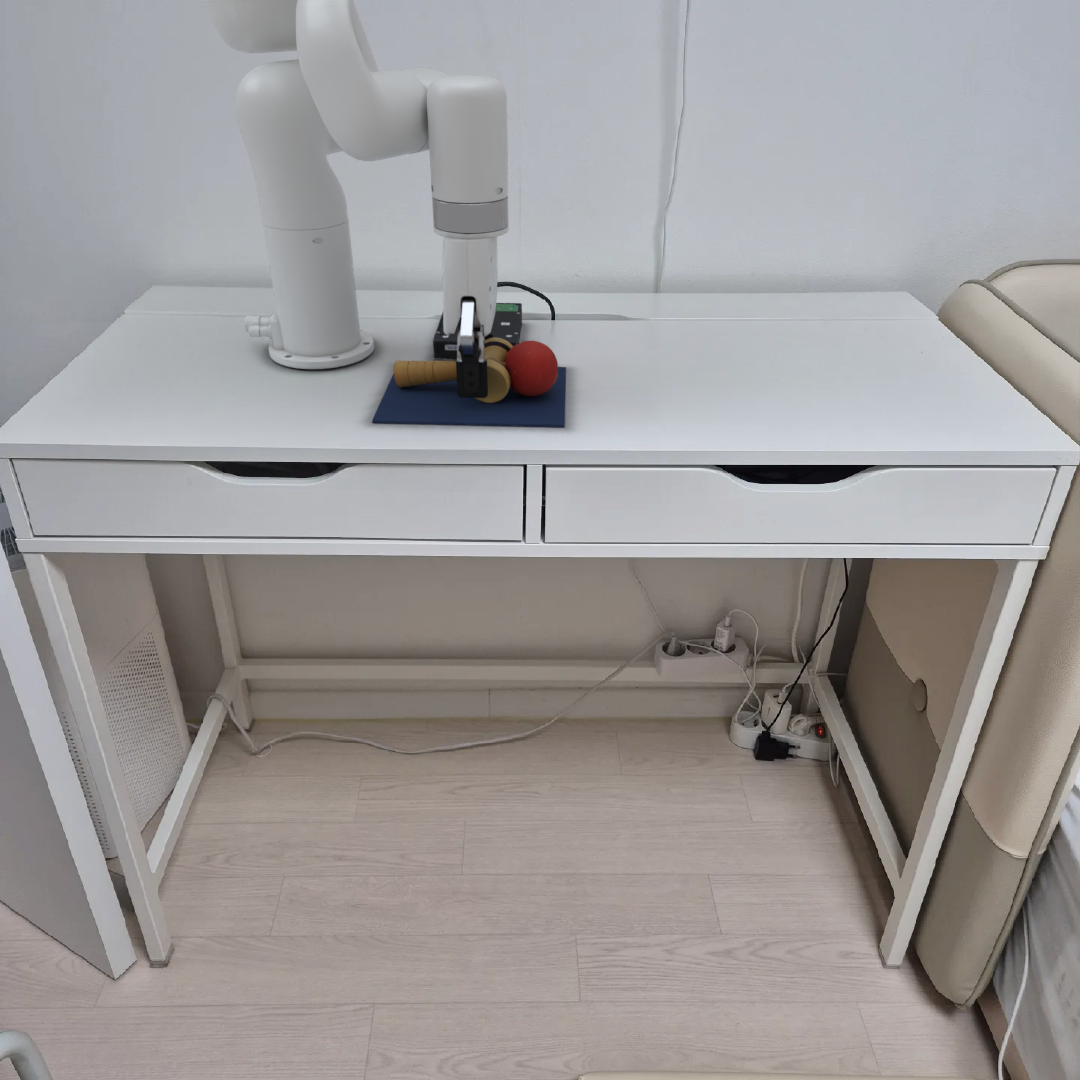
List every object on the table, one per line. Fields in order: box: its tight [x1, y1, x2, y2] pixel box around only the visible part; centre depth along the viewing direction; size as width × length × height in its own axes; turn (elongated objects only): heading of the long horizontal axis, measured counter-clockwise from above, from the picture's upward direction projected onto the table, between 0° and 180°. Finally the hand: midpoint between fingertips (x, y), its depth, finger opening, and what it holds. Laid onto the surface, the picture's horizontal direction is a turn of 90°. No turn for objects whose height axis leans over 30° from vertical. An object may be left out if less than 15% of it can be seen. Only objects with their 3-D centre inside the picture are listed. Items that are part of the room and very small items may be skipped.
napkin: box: [371, 366, 567, 428], centre depth 100 cm, size 20×16×1 cm
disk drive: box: [432, 302, 523, 361], centre depth 113 cm, size 10×3×15 cm
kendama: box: [393, 337, 559, 403], centre depth 98 cm, size 8×6×18 cm
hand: (476, 380), depth 99 cm, fingers closed on kendama, 7 cm apart
